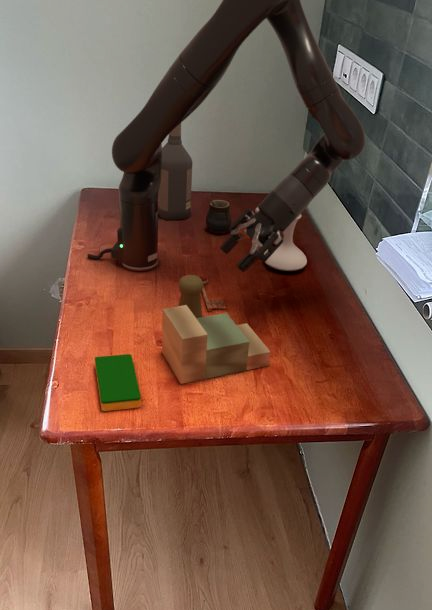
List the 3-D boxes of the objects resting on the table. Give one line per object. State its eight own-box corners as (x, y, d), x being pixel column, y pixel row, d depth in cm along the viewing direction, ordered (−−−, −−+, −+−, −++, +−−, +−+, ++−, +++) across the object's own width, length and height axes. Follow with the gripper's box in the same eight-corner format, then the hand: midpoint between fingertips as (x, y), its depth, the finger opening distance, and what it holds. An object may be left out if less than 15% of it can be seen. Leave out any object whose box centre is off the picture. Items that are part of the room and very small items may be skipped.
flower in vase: (294, 280, 154) (309, 181, 139) (254, 266, 159) (265, 169, 143) (315, 261, 163) (332, 166, 148) (277, 249, 168) (290, 156, 152)
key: (225, 311, 141) (213, 279, 152) (226, 308, 140) (214, 276, 152) (200, 311, 139) (190, 278, 151) (201, 307, 139) (191, 275, 150)
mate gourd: (235, 230, 176) (238, 196, 169) (221, 238, 170) (224, 204, 164) (214, 223, 178) (216, 189, 172) (200, 231, 173) (201, 197, 167)
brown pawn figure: (199, 331, 133) (202, 287, 126) (172, 327, 134) (173, 282, 127) (205, 317, 138) (208, 273, 131) (179, 313, 138) (180, 269, 132)
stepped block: (245, 336, 133) (250, 294, 126) (268, 365, 125) (274, 322, 118) (161, 352, 126) (162, 308, 120) (180, 384, 118) (182, 338, 112)
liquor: (161, 221, 177) (162, 110, 159) (154, 208, 184) (155, 101, 166) (191, 219, 179) (196, 110, 161) (184, 207, 186) (188, 101, 168)
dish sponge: (131, 363, 123) (131, 353, 121) (141, 407, 112) (141, 397, 111) (95, 366, 121) (94, 356, 120) (101, 412, 111) (101, 401, 109)
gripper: (260, 178, 130) (207, 235, 133) (293, 204, 120) (234, 265, 123) (279, 200, 135) (227, 255, 138) (312, 227, 125) (255, 285, 128)
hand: (231, 260), depth 130 cm, fingers open, 8 cm apart
